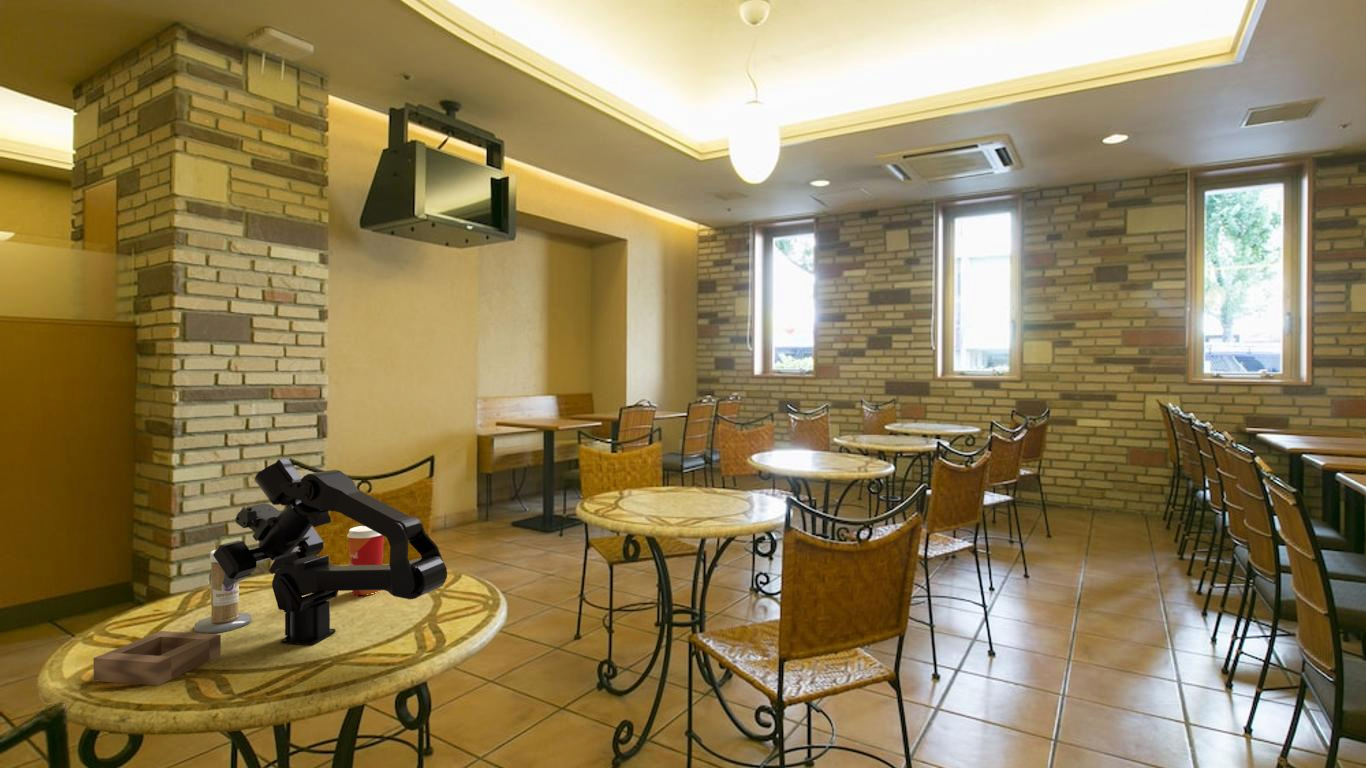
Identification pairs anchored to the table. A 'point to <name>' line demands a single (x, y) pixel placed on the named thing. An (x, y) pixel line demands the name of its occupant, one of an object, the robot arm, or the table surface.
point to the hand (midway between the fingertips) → (248, 578)
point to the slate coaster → (222, 624)
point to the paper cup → (365, 549)
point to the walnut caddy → (157, 658)
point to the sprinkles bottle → (222, 595)
